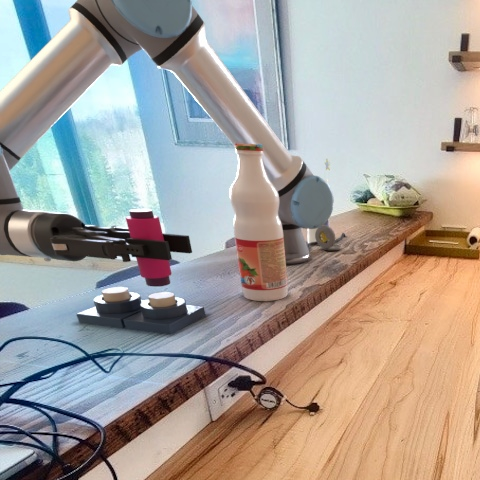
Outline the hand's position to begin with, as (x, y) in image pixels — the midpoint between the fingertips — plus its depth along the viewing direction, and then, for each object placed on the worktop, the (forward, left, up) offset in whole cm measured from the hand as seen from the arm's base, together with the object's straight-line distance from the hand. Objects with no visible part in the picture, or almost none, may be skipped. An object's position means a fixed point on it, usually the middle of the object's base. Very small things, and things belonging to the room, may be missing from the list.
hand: (178, 247), depth 68 cm
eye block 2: (0, -5, -13) cm, 14 cm away
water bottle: (-80, -6, -13) cm, 81 cm away
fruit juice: (-20, +4, -13) cm, 24 cm away
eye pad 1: (0, -14, -10) cm, 18 cm away
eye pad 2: (0, -5, -10) cm, 11 cm away
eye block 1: (0, -14, -13) cm, 19 cm away
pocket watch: (-70, +1, -13) cm, 71 cm away
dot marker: (0, -5, -6) cm, 8 cm away
